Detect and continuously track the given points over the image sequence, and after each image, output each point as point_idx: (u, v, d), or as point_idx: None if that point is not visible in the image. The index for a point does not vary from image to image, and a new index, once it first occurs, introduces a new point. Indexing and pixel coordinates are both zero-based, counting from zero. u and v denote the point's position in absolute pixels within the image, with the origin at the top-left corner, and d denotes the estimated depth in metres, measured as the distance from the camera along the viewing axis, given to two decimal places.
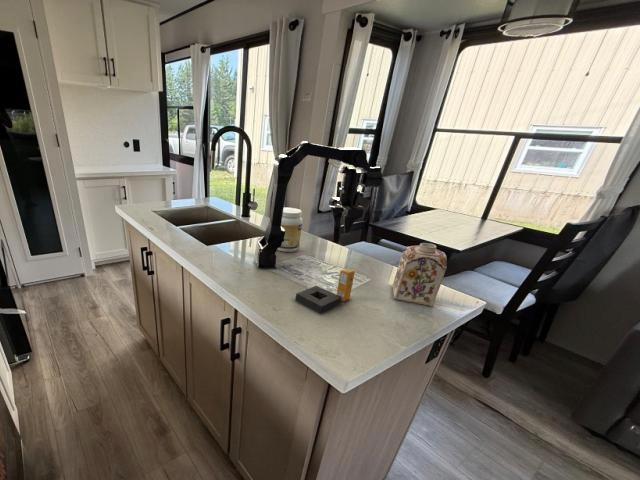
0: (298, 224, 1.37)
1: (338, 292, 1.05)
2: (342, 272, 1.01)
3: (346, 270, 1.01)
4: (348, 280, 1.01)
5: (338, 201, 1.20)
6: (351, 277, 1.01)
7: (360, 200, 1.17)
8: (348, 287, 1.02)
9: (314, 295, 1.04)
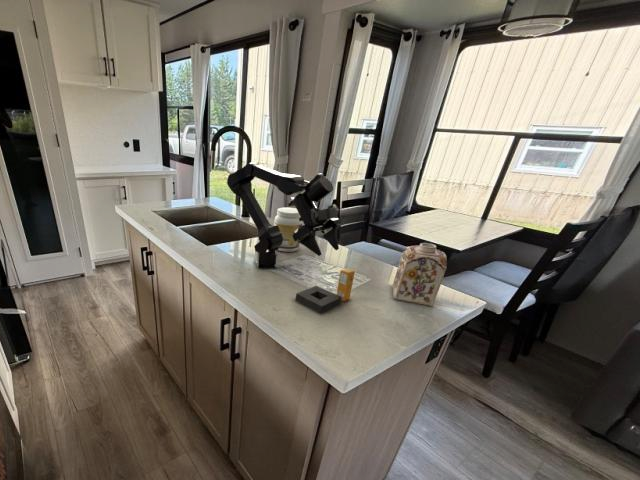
0: (298, 224, 1.37)
1: (338, 292, 1.05)
2: (342, 272, 1.01)
3: (346, 270, 1.01)
4: (348, 280, 1.01)
5: None
6: (351, 277, 1.01)
7: (316, 216, 1.02)
8: (348, 287, 1.02)
9: (314, 295, 1.04)
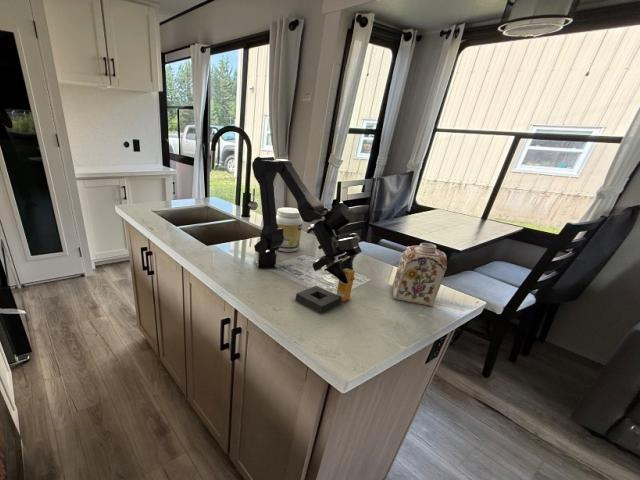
0: (298, 224, 1.37)
1: (338, 292, 1.05)
2: None
3: (346, 270, 1.01)
4: (348, 280, 1.01)
5: None
6: (351, 277, 1.01)
7: (337, 245, 0.99)
8: (348, 287, 1.02)
9: (314, 295, 1.04)
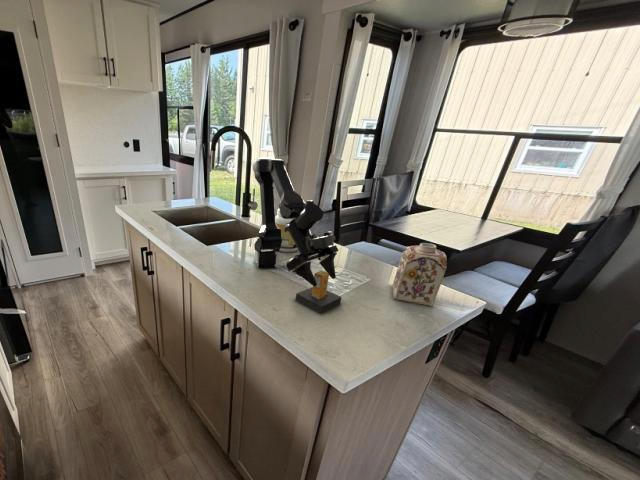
0: None
1: (313, 296, 1.02)
2: (316, 275, 0.98)
3: (320, 273, 0.98)
4: (322, 283, 0.98)
5: None
6: (325, 280, 0.99)
7: (311, 244, 0.95)
8: (322, 290, 1.00)
9: None
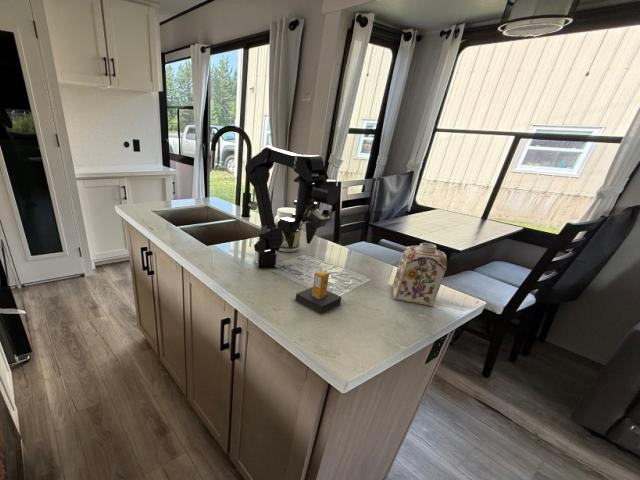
0: None
1: (313, 296, 1.02)
2: (316, 275, 0.98)
3: (320, 273, 0.98)
4: (322, 283, 0.98)
5: None
6: (325, 280, 0.99)
7: (308, 215, 1.01)
8: (322, 290, 1.00)
9: None
